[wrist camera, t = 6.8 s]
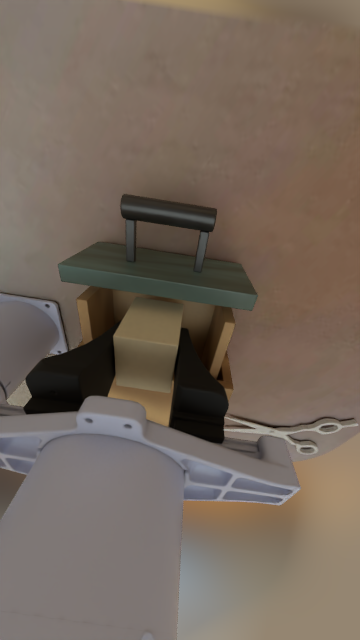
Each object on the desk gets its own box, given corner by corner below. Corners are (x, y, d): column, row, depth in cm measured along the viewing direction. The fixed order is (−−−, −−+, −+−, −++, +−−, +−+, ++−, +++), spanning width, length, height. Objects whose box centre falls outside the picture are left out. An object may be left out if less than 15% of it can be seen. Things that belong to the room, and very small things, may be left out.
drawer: (93, 185, 16) (41, 185, 11) (257, 211, 16) (285, 224, 11) (107, 352, 26) (84, 395, 20) (209, 368, 26) (211, 415, 20)
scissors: (321, 456, 36) (208, 441, 35) (319, 452, 36) (208, 436, 36) (359, 423, 30) (223, 404, 29) (355, 418, 30) (223, 400, 30)
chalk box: (134, 340, 18) (115, 385, 14) (135, 296, 16) (112, 335, 12) (176, 346, 18) (170, 393, 14) (183, 303, 16) (178, 346, 12)
